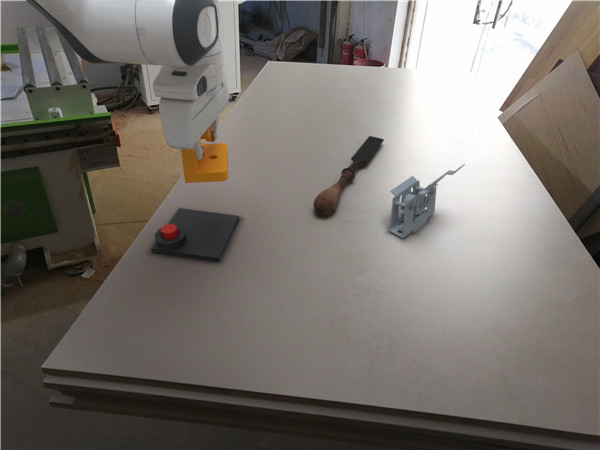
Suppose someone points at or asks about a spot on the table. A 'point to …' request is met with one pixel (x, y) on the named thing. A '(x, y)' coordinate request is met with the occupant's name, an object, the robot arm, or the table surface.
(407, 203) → the bracket
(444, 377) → the table surface
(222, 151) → the bracket
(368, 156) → the chisel
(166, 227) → the button
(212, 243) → the scale
